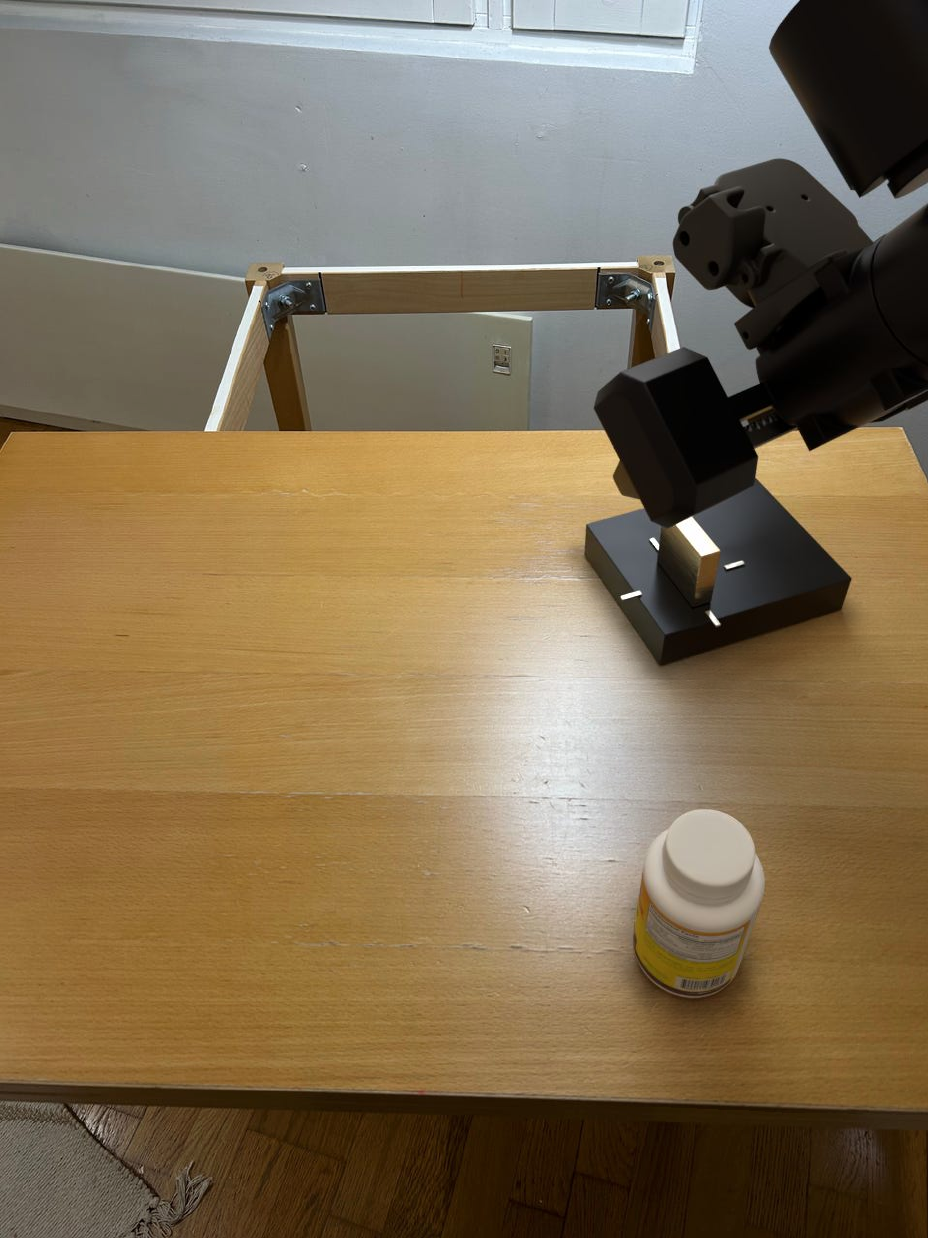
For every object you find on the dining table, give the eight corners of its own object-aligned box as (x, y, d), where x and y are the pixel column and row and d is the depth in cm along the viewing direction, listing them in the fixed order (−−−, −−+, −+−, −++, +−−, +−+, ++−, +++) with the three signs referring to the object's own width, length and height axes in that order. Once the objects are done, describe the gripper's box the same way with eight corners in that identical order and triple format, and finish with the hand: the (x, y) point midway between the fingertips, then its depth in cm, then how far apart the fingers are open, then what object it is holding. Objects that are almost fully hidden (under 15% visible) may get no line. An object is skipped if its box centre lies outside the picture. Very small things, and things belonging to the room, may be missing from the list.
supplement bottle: (675, 882, 54) (699, 772, 47) (761, 951, 51) (800, 845, 44) (608, 950, 51) (622, 844, 44) (694, 1026, 48) (724, 927, 41)
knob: (711, 602, 65) (721, 548, 61) (692, 607, 64) (701, 553, 61) (674, 555, 68) (682, 501, 65) (656, 560, 68) (663, 506, 64)
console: (847, 615, 68) (858, 582, 65) (649, 677, 64) (654, 644, 62) (749, 508, 76) (756, 475, 74) (570, 558, 73) (571, 525, 71)
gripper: (985, 58, 39) (745, 265, 54) (637, 153, 32) (464, 366, 46) (1115, 304, 39) (838, 447, 53) (795, 460, 31) (572, 578, 46)
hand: (688, 453), depth 50 cm, fingers open, 9 cm apart
